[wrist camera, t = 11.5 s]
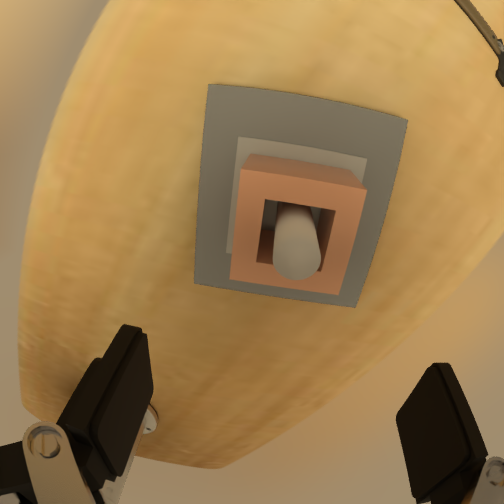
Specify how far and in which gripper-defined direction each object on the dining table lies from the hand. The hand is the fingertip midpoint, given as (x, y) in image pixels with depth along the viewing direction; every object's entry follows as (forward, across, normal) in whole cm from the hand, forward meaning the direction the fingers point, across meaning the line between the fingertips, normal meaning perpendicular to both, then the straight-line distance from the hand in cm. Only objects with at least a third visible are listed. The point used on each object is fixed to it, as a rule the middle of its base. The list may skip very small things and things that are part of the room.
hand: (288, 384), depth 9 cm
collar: (+15, 0, -1) cm, 15 cm away
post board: (+17, 0, -1) cm, 17 cm away
